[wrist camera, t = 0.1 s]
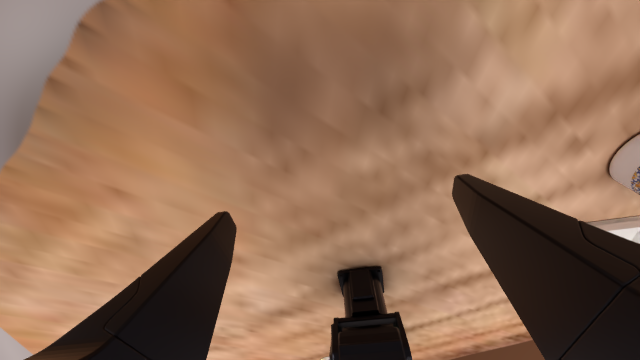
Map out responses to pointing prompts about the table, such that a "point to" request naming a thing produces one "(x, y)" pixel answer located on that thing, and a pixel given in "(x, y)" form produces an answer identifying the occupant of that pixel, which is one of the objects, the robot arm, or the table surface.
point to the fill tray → (621, 227)
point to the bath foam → (627, 165)
